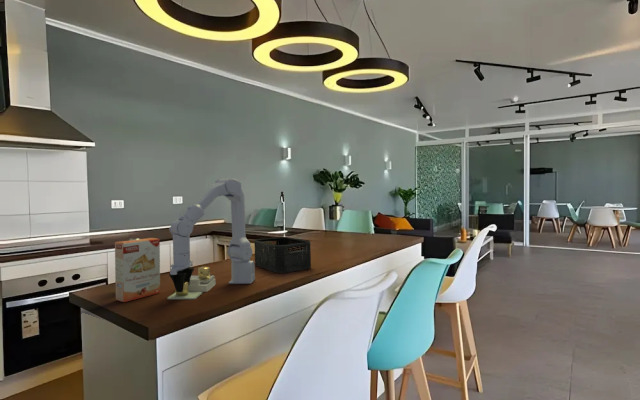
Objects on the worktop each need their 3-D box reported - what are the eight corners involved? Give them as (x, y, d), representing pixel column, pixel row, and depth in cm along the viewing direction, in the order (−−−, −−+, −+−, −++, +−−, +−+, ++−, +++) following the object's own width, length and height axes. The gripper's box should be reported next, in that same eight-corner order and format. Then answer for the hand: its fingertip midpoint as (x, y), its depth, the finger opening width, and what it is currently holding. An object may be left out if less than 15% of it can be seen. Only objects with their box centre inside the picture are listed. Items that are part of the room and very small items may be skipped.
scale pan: (214, 278, 144) (214, 275, 143) (208, 283, 136) (208, 280, 136) (186, 278, 144) (186, 275, 144) (178, 283, 136) (178, 280, 136)
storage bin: (252, 264, 183) (252, 238, 183) (284, 259, 195) (284, 235, 194) (279, 275, 160) (278, 245, 160) (313, 269, 171) (313, 241, 171)
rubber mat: (202, 293, 132) (202, 292, 132) (195, 299, 125) (194, 297, 125) (176, 293, 132) (176, 292, 132) (167, 299, 125) (167, 297, 125)
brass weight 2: (211, 276, 142) (211, 266, 142) (207, 279, 138) (207, 269, 137) (200, 276, 142) (200, 266, 142) (196, 279, 138) (196, 269, 138)
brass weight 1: (190, 291, 131) (190, 281, 130) (185, 295, 126) (185, 284, 126) (179, 291, 131) (178, 281, 131) (173, 295, 126) (173, 284, 126)
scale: (215, 284, 144) (215, 273, 144) (206, 291, 134) (206, 279, 134) (186, 284, 144) (186, 273, 144) (175, 291, 134) (175, 279, 134)
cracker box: (124, 303, 121) (122, 243, 120) (115, 300, 124) (113, 241, 124) (161, 293, 133) (160, 238, 132) (152, 290, 136) (150, 237, 136)
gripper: (179, 249, 135) (180, 284, 136) (161, 256, 121) (162, 295, 121) (197, 249, 135) (198, 284, 136) (181, 256, 121) (182, 295, 121)
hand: (182, 289), depth 128 cm, fingers closed on brass weight 1, 4 cm apart
